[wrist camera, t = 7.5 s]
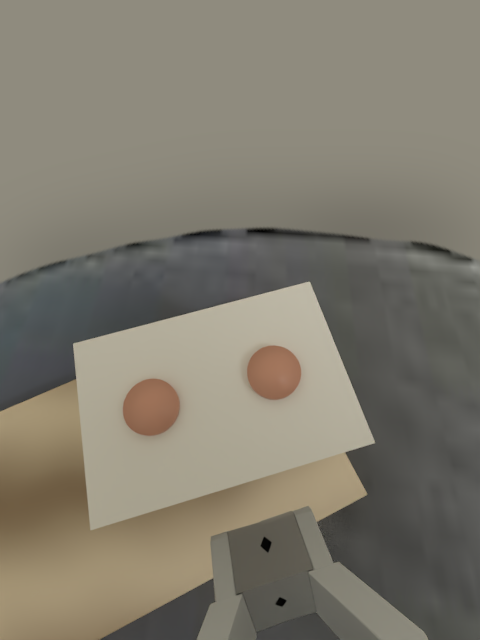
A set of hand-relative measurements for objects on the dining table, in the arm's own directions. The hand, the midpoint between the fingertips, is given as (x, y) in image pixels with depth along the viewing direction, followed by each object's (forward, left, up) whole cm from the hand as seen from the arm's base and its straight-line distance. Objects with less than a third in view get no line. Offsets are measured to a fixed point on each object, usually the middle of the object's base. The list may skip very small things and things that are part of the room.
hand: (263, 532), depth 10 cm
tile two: (+2, -3, -4) cm, 6 cm away
